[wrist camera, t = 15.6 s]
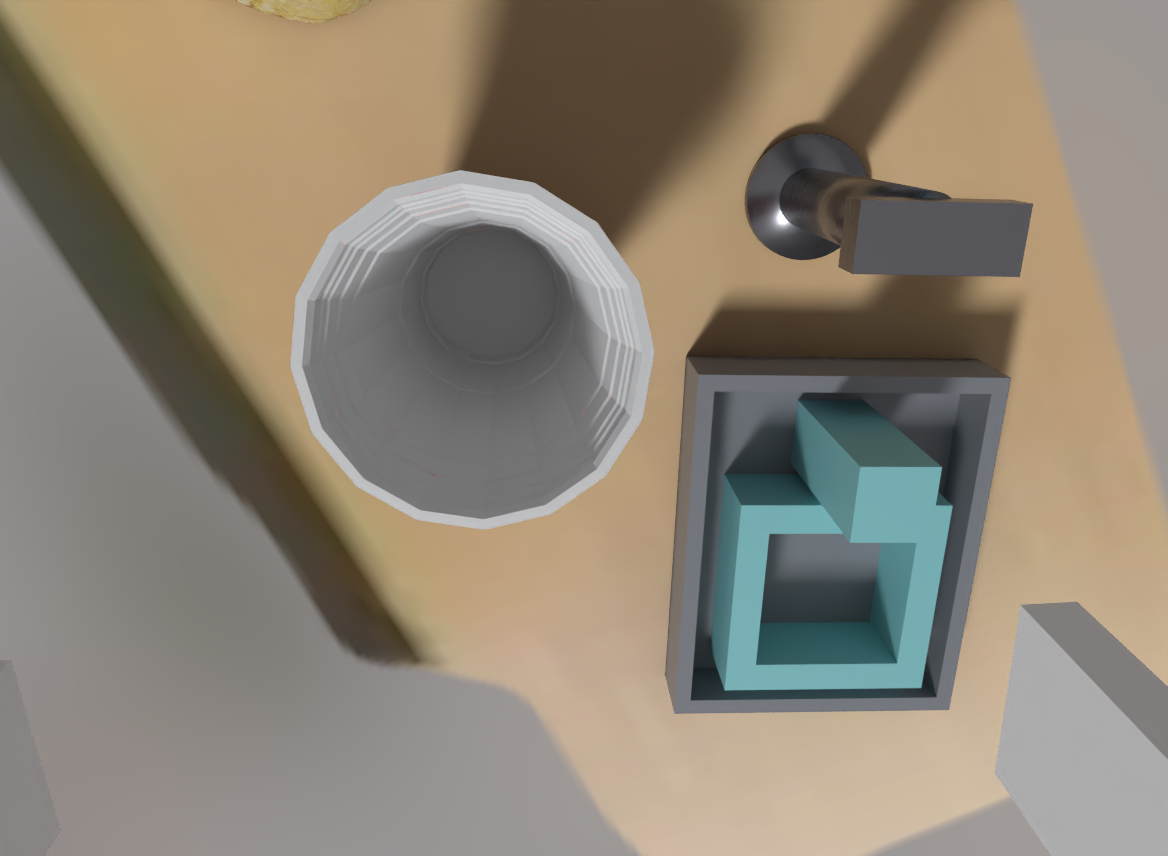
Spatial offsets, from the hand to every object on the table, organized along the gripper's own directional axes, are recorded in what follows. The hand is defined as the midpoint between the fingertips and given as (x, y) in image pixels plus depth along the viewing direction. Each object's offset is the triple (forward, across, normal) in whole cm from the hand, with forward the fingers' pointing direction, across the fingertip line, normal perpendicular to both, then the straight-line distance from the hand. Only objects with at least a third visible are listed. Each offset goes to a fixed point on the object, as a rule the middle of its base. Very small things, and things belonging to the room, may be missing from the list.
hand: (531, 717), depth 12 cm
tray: (+28, +12, -12) cm, 32 cm away
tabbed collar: (+27, +12, -11) cm, 32 cm away
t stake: (+28, +11, +4) cm, 30 cm away
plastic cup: (+28, -2, 0) cm, 28 cm away
